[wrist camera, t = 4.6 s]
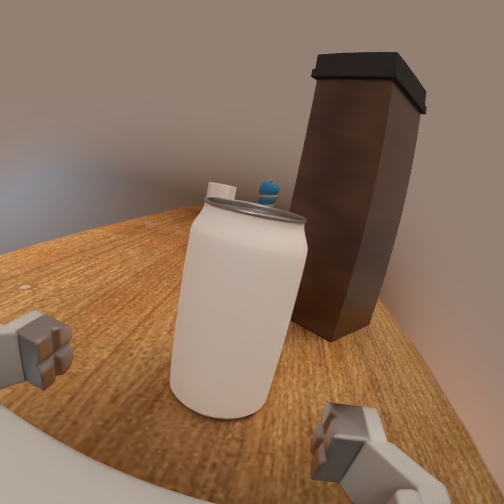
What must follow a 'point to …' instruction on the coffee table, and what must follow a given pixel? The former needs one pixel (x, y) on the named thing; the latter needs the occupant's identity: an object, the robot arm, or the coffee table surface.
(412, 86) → the black socket pad
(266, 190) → the ornament
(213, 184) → the mug
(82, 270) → the coffee table surface
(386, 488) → the robot arm
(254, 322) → the can
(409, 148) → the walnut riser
